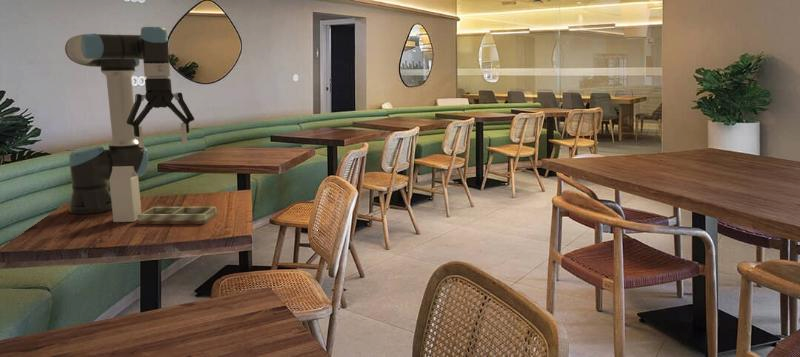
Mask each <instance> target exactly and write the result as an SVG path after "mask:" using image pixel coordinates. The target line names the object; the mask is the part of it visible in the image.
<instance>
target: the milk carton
mask: <svg viewBox="0 0 800 357" xmlns="http://www.w3.org/2000/svg"><path fill="white" fill-rule="evenodd" d="M108 182H109V188H110V191H109V192H110V195H111V201H112V209H111V210H112V218H113V219H112V221H113V223H127V222H128V223H129V222H131V223H133V222H136V221H138V215H139V214H140V213H142V202H141V194H140V193H141V191H140V182H139V177H138V175H137V173H136V172H135V170H134V167H133V166H120V167H112V173H111V176H110V179H109V180H108Z"/></svg>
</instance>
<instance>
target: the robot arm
mask: <svg viewBox="0 0 800 357" xmlns="http://www.w3.org/2000/svg"><path fill="white" fill-rule="evenodd" d="M64 51H65V54H66V55H65V56H67V58H68V59H69V60H70V61H71V62H73V63H75V64H78V65H81V66H84V67H91V68H93V67H95V68H96V67H100V72H101V74H103V75H104V76H105V77H106V87H107V96H108V108H109V119H110V127H111V138H112V139H111V141H110V142H109V143H108V149H105V148H104V147H103V146H99V145H98V146H88V147H84V148H79V149H75V150H73V151H71V153H69V155H68V157H69V158H68V160H69V162H68V163H69V164H68V166H69V169H70V179H71V180H70V181H71V186H72V188H71V189H72V194H71V197H70V202H69V206H68V207H69V208H68V210H69V213H71V214H74V215H90V214H98V213H102V212H109V211H111V210H112V201H111V192H110V191H109V189H108V183H107V182H108V181H109V179H110V176H111V173H112V167H120V166H133V167H134V170H135V172H136V173H137V175H138V178H139V177H142V176H144V175H145V174H146V172H147V171H148V166H149V154H148V149H147V147H146V146H144V137H143V136H144V135H143V127H142V125H141V124H142V123H143V121H144V119H146V116H147V115H148V114H149V113H150V111H151V110H152V109H153V108H154V109H159V108H168V109H169V110H171V112H173V114H174V115H176V117H178V119H179V120H181V123H180V133H181V143H182V144H184V145H186V144H188V135H187V134H189V133H190V123H192V122H194V120H195V117H194V115H193V114H192V112H191V110H190V108H189V107H188V106H187V103H186V102H185V100H184V96H183V93H182V92H176V93H173V91H172V79H171V78H169V77H171V67H170V66H171V65H170V55H169V54H170V53H169V37H168V32H167V29H166V28H165V27H163V26H162V27H161V26H143V27H141V28H140V34H120V33H119V34H109V33H108V34H106V33H105V34H104V33H102V34H98V33H85V34H84V33H83V34H79V35H75V36H72V37H70V38H69V39H68V40H67V41H66V43H65V45H64ZM140 60H142V62H143V73H144V77H146V78H145V80H144V84H145V94H141V93H136V94H135V100H134V93H133V92H134V90H133V83H132V82H133V81H132V80H133V79H132V76H133V74H134V73H135V72H136V68H137V67H139V65H140ZM173 99H175V101H176V100H177V103H178V104H179V106H180V108H181V110H182V111H183V113H184V114H185V115H184V114H183V113H182V112H181V111H180V110H179V108H177V107H176V105H175V104H174V103H173V102H172V101H173ZM144 100H146V101H147V103H146V105H145V106H144V108H143V109H142V111H140V113H139V114H138V111H139V109H140V107H141V104H142V102H144ZM137 114H138V116H137Z"/></svg>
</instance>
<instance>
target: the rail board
mask: <svg viewBox="0 0 800 357" xmlns="http://www.w3.org/2000/svg"><path fill="white" fill-rule="evenodd" d="M217 210H218V209H217V206H152V207H150V208H149V209H147V210H145V211H143V212H142V211H141V213H140V214H139V215H138V220H137V222H138V225H199V224H200V225H205V224H207V223H208V222H210V221H211V220H212V219H214V218H216V217H217V216H218V211H217Z"/></svg>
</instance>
